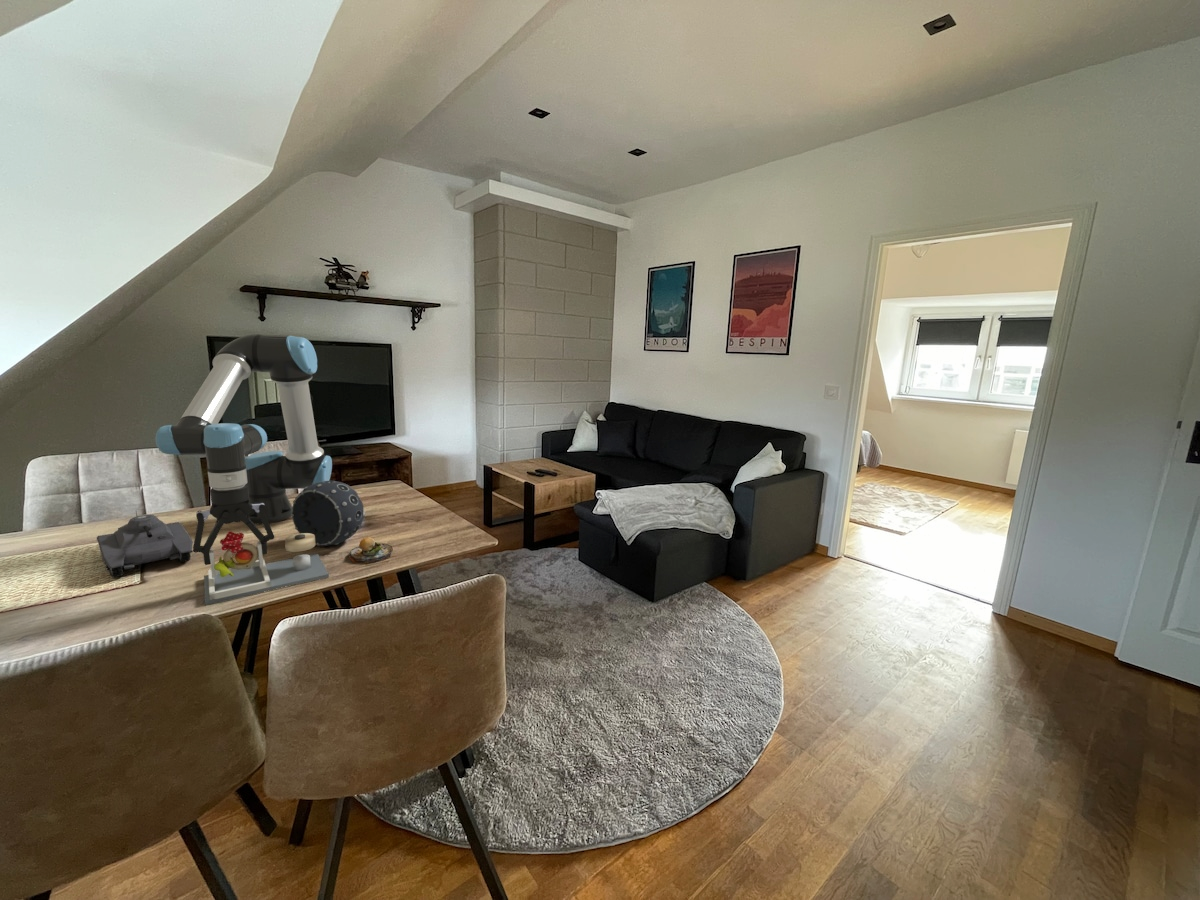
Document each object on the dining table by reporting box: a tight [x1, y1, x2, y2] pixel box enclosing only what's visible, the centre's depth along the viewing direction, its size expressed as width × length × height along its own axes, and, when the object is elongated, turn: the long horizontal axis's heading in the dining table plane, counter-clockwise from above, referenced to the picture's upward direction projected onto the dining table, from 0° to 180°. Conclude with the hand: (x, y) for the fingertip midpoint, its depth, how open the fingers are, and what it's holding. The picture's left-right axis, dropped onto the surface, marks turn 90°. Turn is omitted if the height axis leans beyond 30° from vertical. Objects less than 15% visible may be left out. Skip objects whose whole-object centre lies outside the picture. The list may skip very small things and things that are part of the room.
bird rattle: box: [214, 531, 259, 577], centre depth 122 cm, size 6×11×9 cm
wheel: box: [284, 533, 317, 553], centre depth 131 cm, size 7×7×3 cm
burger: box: [348, 535, 393, 564], centre depth 144 cm, size 12×12×8 cm
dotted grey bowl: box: [291, 480, 365, 547], centre depth 150 cm, size 11×20×20 cm, turn 78°
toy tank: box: [96, 511, 194, 578], centre depth 134 cm, size 18×25×15 cm
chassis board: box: [203, 552, 330, 606], centre depth 127 cm, size 16×26×4 cm, turn 129°
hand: (238, 570), depth 123 cm, fingers closed on bird rattle, 9 cm apart
